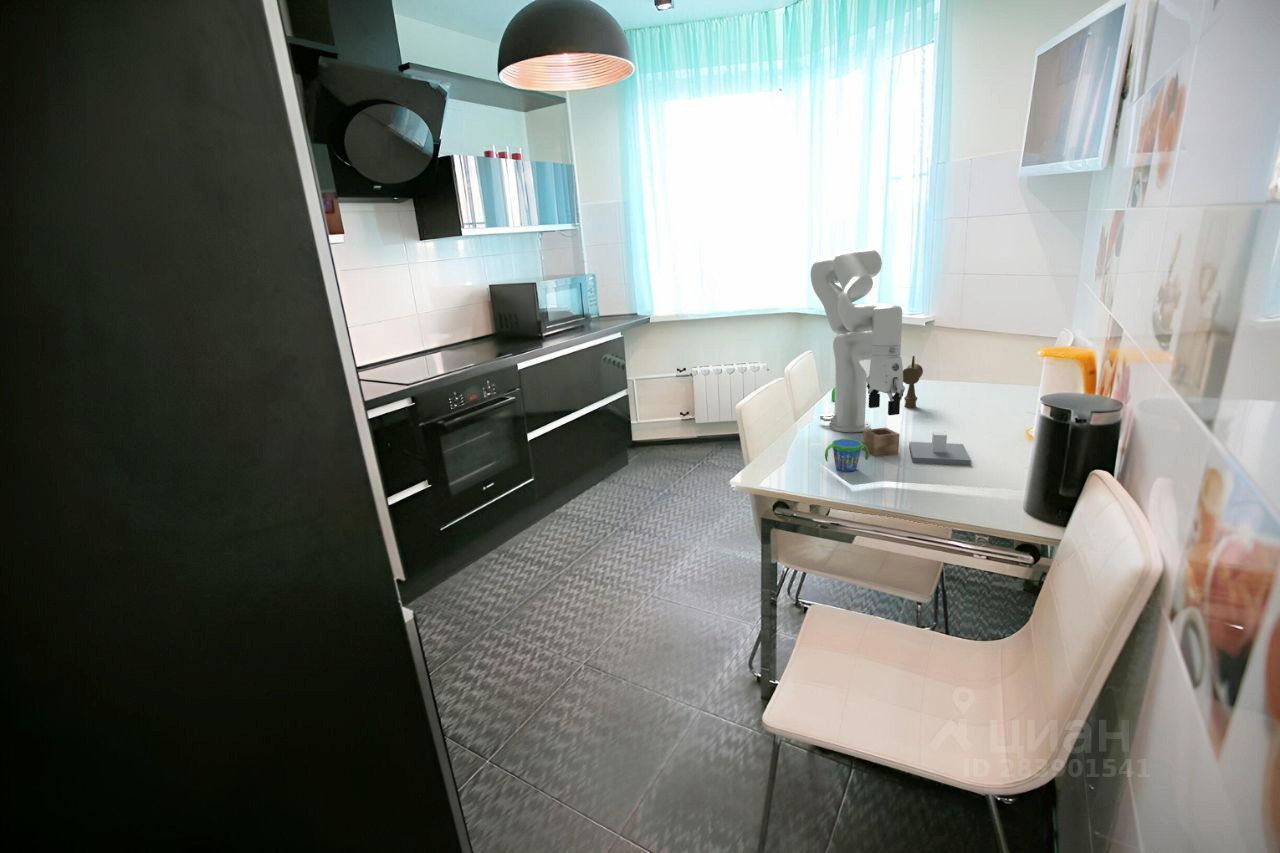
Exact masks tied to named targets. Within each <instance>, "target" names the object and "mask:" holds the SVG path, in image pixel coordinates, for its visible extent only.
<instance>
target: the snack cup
mask: <svg viewBox="0 0 1280 853" xmlns="http://www.w3.org/2000/svg"><path fill="white" fill-rule="evenodd" d="M863 446H864V447H865V448H866V451H865V456H864V459H865V460H866V461H868V460H869V457H870V456H869V455H870V453H869V451H868V448H867V447H866V446H865V445H864V444H863V442H861V441H859V440H856V439H849V438H841V439H839V438H838V439H836V440H833V441H832V443H831V444H829V445H828V446H827V447H826V449H825V451H824V458H825V462H828V458H829V457H828V455H829V450H830V449H832V450H833V460H834V466H835V469H836V470H838V471H841V472H845V473H846V472H856V471H855V470H857V468H858V465H859V459H860V455H861V452H862V450H863Z"/></svg>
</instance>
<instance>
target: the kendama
mask: <svg viewBox="0 0 1280 853" xmlns="http://www.w3.org/2000/svg"><path fill="white" fill-rule="evenodd" d="M915 357H916V356H915V355H913V356H912V359H911V364H908V366H907V367H906V368H904V369H903V384H906V385H908V389H907V393H906V395H905V397H904V398H903V399H904V401H905V402H904V406H903V407H904V408H906V409H916V408H917V401H918V397H917V396H916V389H915V385H916V384H917V383H918V382H919V381H920V379H921V377H922V376H923V373H924V370H923V367H922V366H921V365H920V364H918V363H915V360H916V358H915Z"/></svg>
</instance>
